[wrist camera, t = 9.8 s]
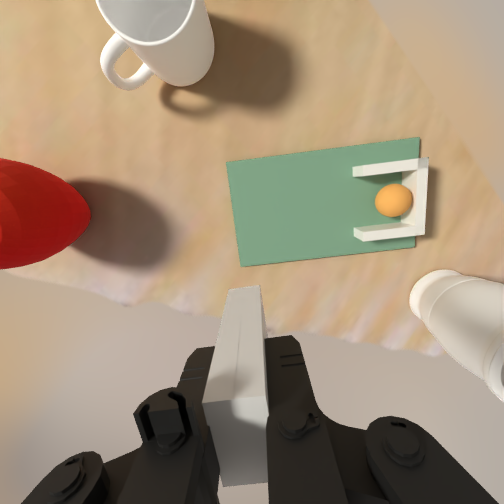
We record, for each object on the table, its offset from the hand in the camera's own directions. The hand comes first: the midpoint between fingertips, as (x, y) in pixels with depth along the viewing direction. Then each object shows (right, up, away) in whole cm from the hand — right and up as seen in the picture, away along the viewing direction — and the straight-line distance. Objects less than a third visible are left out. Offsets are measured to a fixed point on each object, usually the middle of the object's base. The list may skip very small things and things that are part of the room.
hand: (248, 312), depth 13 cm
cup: (-10, +25, +18) cm, 32 cm away
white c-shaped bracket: (+17, +10, +21) cm, 29 cm away
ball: (+17, +9, +19) cm, 28 cm away
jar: (+27, -3, +25) cm, 38 cm away
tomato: (-26, +9, +23) cm, 35 cm away
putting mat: (+10, +9, +22) cm, 26 cm away
